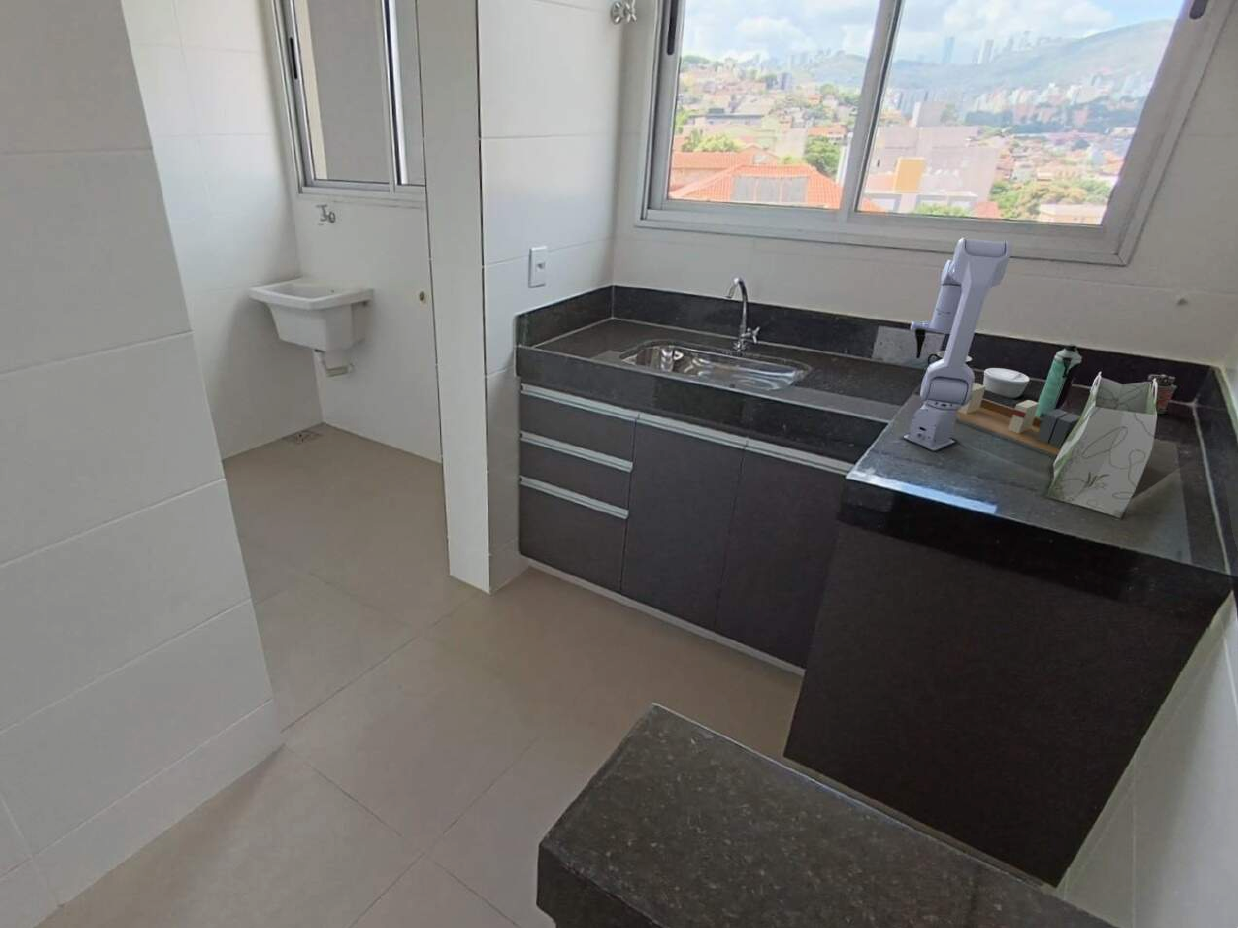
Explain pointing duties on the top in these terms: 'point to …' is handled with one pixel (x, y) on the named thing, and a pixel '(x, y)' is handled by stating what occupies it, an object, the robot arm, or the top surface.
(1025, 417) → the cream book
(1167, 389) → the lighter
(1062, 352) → the spray can
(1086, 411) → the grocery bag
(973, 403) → the cream rectangular block
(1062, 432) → the grey book
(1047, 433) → the grey book
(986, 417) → the shelf board
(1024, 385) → the ramekin
